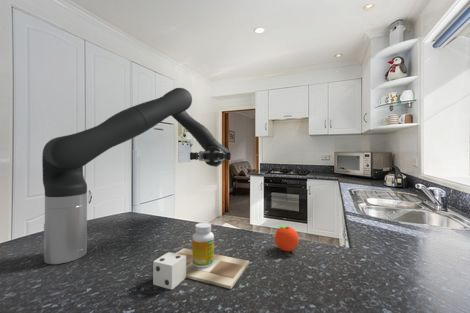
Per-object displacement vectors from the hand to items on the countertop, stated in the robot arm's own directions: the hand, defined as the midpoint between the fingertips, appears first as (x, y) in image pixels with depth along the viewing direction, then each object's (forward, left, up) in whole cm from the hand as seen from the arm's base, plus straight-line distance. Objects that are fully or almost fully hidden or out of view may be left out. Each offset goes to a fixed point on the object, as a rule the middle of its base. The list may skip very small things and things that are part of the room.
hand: (207, 156), depth 71 cm
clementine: (+24, +4, -28) cm, 37 cm away
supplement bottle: (+7, -14, -28) cm, 32 cm away
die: (+3, -23, -28) cm, 36 cm away
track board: (+7, -14, -28) cm, 32 cm away
